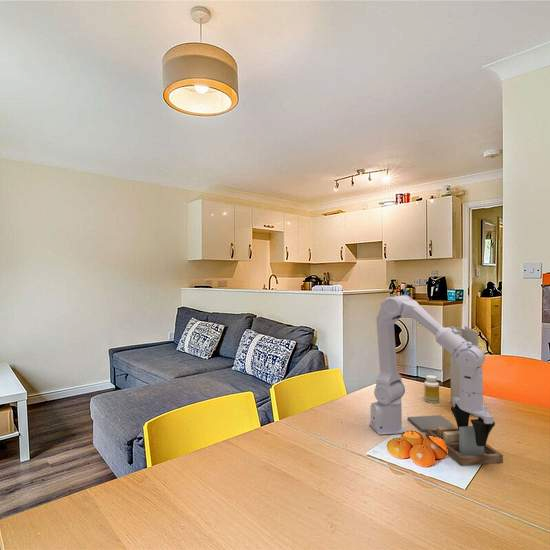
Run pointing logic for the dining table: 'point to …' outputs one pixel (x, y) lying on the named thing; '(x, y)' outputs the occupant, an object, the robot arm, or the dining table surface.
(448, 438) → the birch offcut
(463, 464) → the walnut rack
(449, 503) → the dining table surface
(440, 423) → the rubber mat
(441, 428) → the stained offcut
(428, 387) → the supplement bottle
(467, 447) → the grey rectangular block
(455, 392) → the brochure
